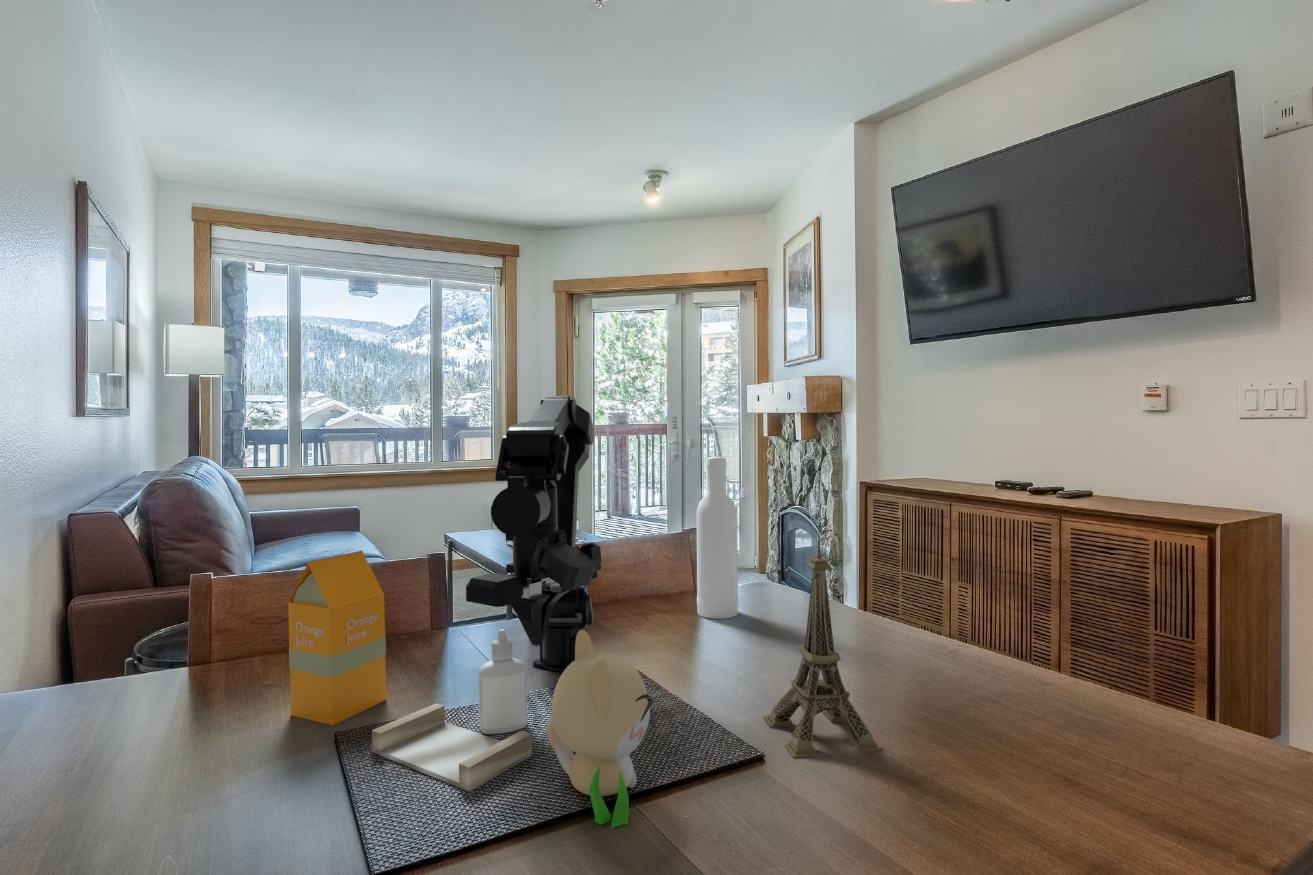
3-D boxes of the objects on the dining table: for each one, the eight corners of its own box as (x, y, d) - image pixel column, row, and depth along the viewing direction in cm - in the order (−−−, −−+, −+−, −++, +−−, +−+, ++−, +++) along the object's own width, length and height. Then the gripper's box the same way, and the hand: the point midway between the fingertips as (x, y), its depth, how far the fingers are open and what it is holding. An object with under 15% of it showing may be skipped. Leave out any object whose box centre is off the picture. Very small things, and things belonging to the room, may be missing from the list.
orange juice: (387, 699, 95) (384, 552, 95) (332, 725, 87) (329, 564, 87) (345, 690, 99) (342, 548, 98) (289, 715, 91) (285, 560, 90)
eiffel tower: (882, 750, 80) (882, 529, 79) (793, 758, 78) (791, 532, 77) (843, 712, 90) (842, 516, 89) (763, 719, 88) (761, 519, 88)
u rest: (372, 751, 80) (371, 730, 80) (436, 723, 88) (436, 703, 88) (469, 791, 71) (468, 767, 71) (531, 755, 79) (531, 733, 79)
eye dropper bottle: (519, 737, 84) (517, 636, 83) (474, 734, 85) (472, 634, 84) (531, 721, 88) (530, 625, 88) (488, 718, 89) (487, 624, 89)
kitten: (673, 821, 66) (671, 661, 66) (566, 840, 63) (563, 673, 63) (632, 749, 80) (631, 618, 80) (544, 762, 77) (541, 626, 77)
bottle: (694, 618, 132) (693, 458, 132) (699, 607, 140) (697, 456, 139) (737, 620, 131) (736, 458, 130) (739, 608, 139) (738, 456, 138)
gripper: (530, 539, 78) (532, 679, 79) (628, 519, 94) (630, 635, 94) (461, 531, 85) (464, 661, 85) (564, 513, 100) (566, 623, 101)
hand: (536, 644), depth 91 cm, fingers closed
